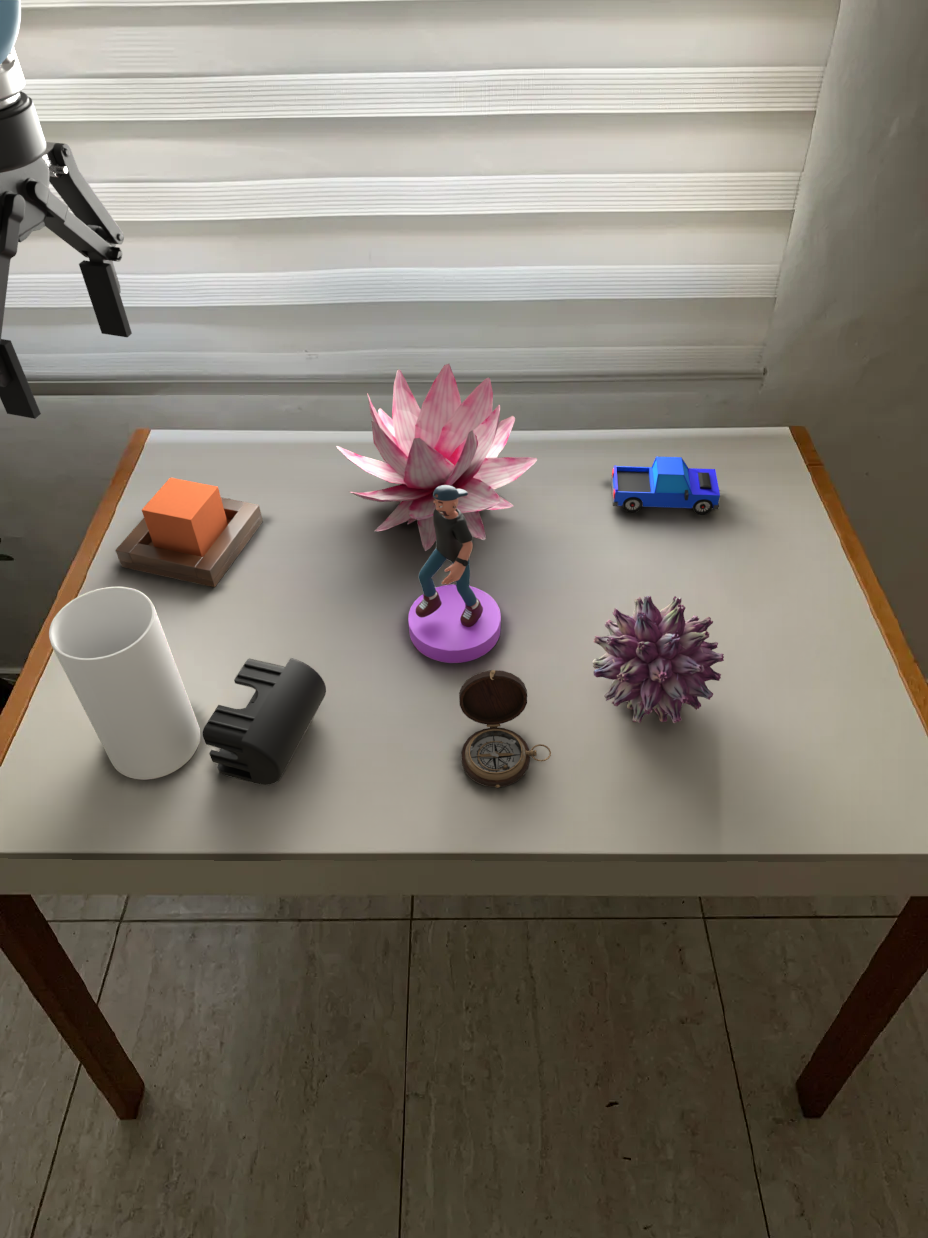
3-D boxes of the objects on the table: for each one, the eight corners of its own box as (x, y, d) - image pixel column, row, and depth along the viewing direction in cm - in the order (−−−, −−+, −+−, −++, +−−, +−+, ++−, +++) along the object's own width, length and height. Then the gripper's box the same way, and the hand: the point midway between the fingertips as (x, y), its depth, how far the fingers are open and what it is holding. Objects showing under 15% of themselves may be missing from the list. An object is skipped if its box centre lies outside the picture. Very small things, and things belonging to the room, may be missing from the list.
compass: (462, 792, 79) (461, 741, 74) (459, 720, 85) (458, 668, 80) (554, 788, 79) (558, 737, 74) (545, 716, 85) (549, 664, 80)
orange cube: (202, 558, 100) (190, 519, 96) (154, 548, 101) (141, 509, 97) (228, 525, 104) (218, 486, 100) (182, 515, 105) (170, 477, 101)
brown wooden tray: (214, 587, 98) (209, 570, 96) (121, 567, 101) (114, 550, 99) (263, 521, 106) (259, 504, 104) (175, 503, 108) (170, 487, 107)
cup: (213, 713, 86) (171, 591, 75) (179, 785, 80) (128, 666, 69) (132, 702, 87) (78, 581, 76) (93, 773, 82) (28, 653, 70)
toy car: (717, 520, 104) (725, 485, 101) (612, 516, 105) (616, 482, 102) (711, 484, 109) (718, 450, 105) (610, 481, 110) (614, 447, 106)
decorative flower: (403, 439, 117) (394, 331, 106) (558, 483, 110) (565, 371, 99) (311, 539, 103) (290, 426, 93) (480, 595, 96) (479, 481, 86)
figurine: (391, 624, 94) (375, 484, 81) (461, 584, 98) (457, 444, 85) (447, 677, 89) (440, 536, 76) (519, 632, 93) (524, 491, 80)
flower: (689, 767, 83) (564, 725, 83) (702, 667, 90) (588, 629, 91) (741, 697, 74) (600, 651, 74) (750, 592, 81) (623, 551, 82)
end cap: (286, 797, 79) (273, 751, 75) (214, 778, 81) (196, 731, 76) (331, 710, 86) (322, 663, 81) (263, 694, 88) (250, 646, 83)
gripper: (-113, 168, 54) (19, 461, 69) (119, 52, 71) (184, 309, 86) (-212, 156, 56) (-62, 445, 71) (37, 46, 72) (115, 299, 88)
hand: (73, 371), depth 79 cm, fingers open, 13 cm apart
